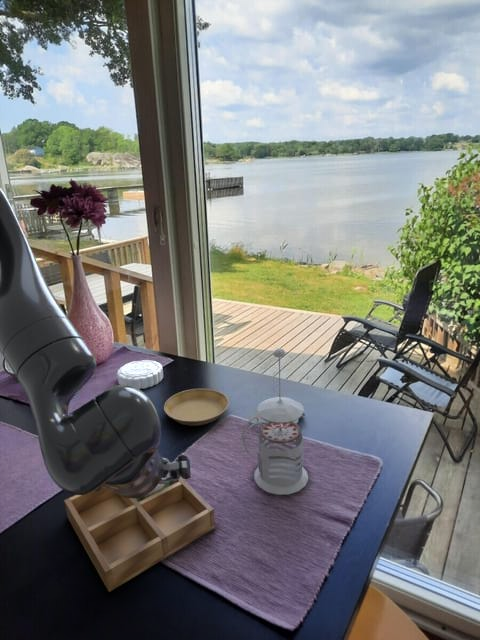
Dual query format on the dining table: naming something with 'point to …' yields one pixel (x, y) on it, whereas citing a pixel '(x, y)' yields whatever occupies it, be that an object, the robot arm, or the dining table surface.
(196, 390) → the plant saucer
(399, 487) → the dining table surface
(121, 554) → the grid
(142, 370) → the mooncake
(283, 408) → the french press
